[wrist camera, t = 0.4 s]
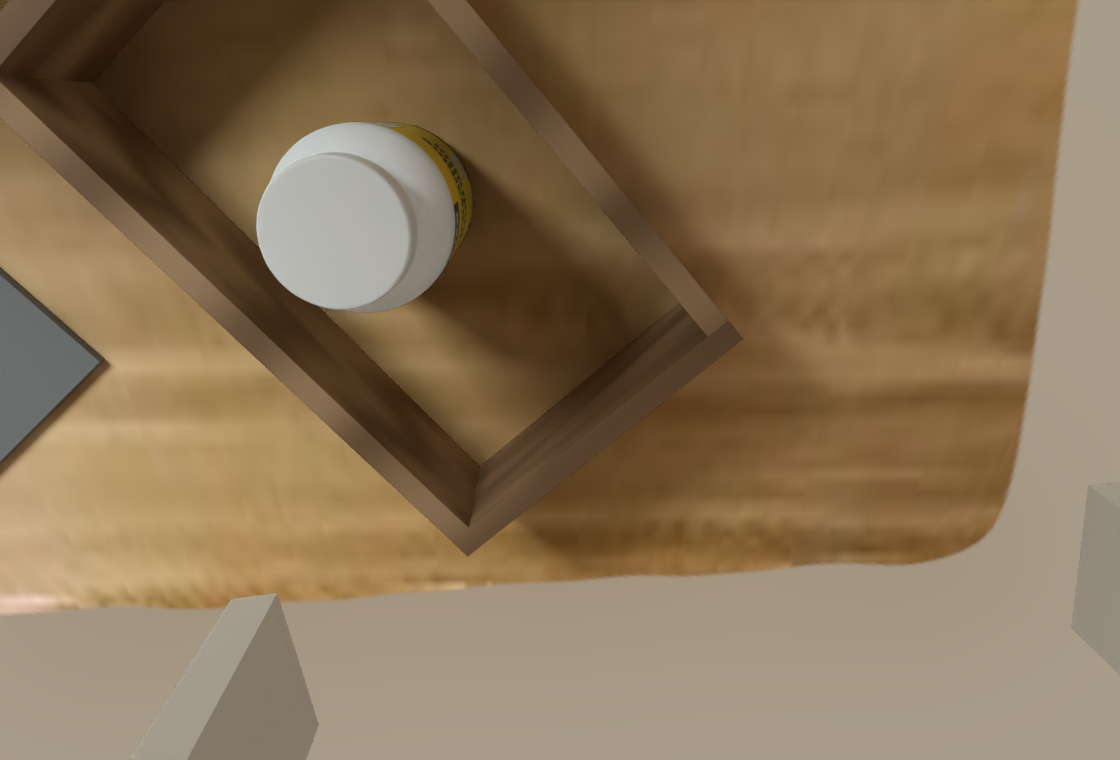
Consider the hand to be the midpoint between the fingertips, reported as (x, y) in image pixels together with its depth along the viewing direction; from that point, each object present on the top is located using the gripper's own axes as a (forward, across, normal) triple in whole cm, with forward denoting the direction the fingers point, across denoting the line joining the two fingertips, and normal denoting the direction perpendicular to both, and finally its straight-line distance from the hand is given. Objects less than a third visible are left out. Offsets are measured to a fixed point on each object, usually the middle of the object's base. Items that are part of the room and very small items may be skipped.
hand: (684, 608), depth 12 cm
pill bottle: (+24, -8, +5) cm, 26 cm away
